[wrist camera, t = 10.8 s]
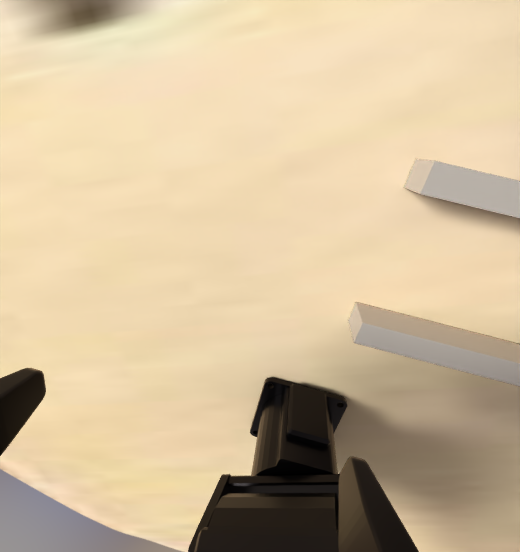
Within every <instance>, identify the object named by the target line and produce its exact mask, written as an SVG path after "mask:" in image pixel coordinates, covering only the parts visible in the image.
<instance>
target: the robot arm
mask: <svg viewBox="0 0 520 552" xmlns="http://www.w3.org/2000/svg"><path fill="white" fill-rule="evenodd" d="M270 384H273V385H270ZM45 393H46V387H45V380H44V374H43V372H42V371H40V370H36V369H33V368H25V369H22V370H19V371H17V372H15V373H12V374H10V375H7V376H5V377H2V378H0V456H1V454H2V453H3V452H4V451H5V450H6V448H7V447H8V446H9V444H10V443H11V442H12V440H13V439H14V438H15V436H16V435H17V434H18V432H19V431H20V430H21V428H22V427H23V426H24V424H25V423H26V422H27V420H28V419H29V417H30V416H31V415H32V413H33V412H34V411H35V409H36V408H37V407H38V405H39V404H40V403H41V401H42V400H43V398H44V396H45ZM346 407H347V401H346V399H345V398H344V397H342V396H339V395H335V394H331V393H327V392H324V391H320V390H316V389H313V388H309V387H305V386H301V385H298V384H294V383H290V382H287V381H283V380H279V379H275V378H267V379H266V380H265V382H264V386H263V389H262V392H261V396H260V399H259V402H258V406H257V409H256V412H255V416H254V419H253V422H252V426H251V430H250V433H251V434H252V435H253V436H255V437H257V443H256V449H255V455H254V462H253V468H252V474H251V476H231V475H230V474H226V475H222V476H221V478H220V480H219V482H218V484H217V486H216V489H215V491H214V493H213V495H212V497H211V499H210V502H209V504H208V506H207V508H206V510H205V512H204V515H203V517H202V519H201V521H200V523H199V525H198V528H197V530H196V532H195V535H194V537H193V539H192V541H191V544H190V546H189V550H188V552H419V551H418V549H417V548H416V546H415V544H414V542H413V541H412V539H411V537H410V536H409V534H408V532H407V530H406V529H405V527H404V525H403V524H402V522H401V520H400V518H399V517H398V515H397V513H396V512H395V510H394V508H393V506H392V505H391V503H390V501H389V500H388V498H387V496H386V494H385V493H384V491H383V489H382V487H381V486H380V484H379V482H378V481H377V479H376V477H375V475H374V474H373V472H372V470H371V469H370V467H369V465H368V464H367V462H366V461H365V460H363V459H360V458H357V457H353V456H351V457H349V458H348V460H347V462H346V464H345V465H344V467H343V469H342V471H341V473H340V474H338V473H337V463H336V453H335V444H334V432H335V430H336V428H337V426H338V424H339V421H340V419H341V417H342V415H343V413H344V411H345V409H346Z"/></svg>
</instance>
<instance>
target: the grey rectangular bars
mask: <svg viewBox="0 0 520 552" xmlns="http://www.w3.org/2000/svg"><path fill="white" fill-rule="evenodd" d="M404 188H407V189H409V190H411V191H414V192H416V193H419V194H422V195H426V196H430V197H434V198H438V199H442V200H447V201H451V202H455V203H459V204H463V205H467V206H471V207H475V208H480V209H484V210H488V211H492V212H496V213H500V214H504V215H508V216H513V217H517V218H520V181H518V180H513V179H509V178H505V177H501V176H497V175H492V174H488V173H484V172H480V171H476V170H471V169H467V168H463V167H459V166H455V165H450V164H446V163H442V162H438V161H432V160H423V159H415V161H414V164H413V166H412V168H411V171H410V173H409V176H408V178H407V180H406V183H405V185H404ZM348 322H349V326H350V330H351V334H352V338H353V342H354V343H356V344H360V345H364V346H368V347H371V348H375V349H379V350H383V351H387V352H391V353H394V354H398V355H402V356H406V357H410V358H413V359H417V360H421V361H425V362H429V363H432V364H436V365H440V366H444V367H448V368H452V369H455V370H459V371H463V372H467V373H471V374H474V375H478V376H482V377H486V378H490V379H494V380H497V381H501V382H505V383H509V384H513V385H516V386H520V344H517V343H514V342H510V341H506V340H502V339H498V338H494V337H490V336H486V335H482V334H479V333H475V332H471V331H467V330H463V329H459V328H455V327H451V326H447V325H444V324H440V323H436V322H432V321H428V320H424V319H420V318H416V317H412V316H409V315H405V314H401V313H397V312H393V311H389V310H385V309H381V308H377V307H374V306H370V305H366V304H362V303H358V302H355V305H354V307H353V310H352V312H351V314H350V317H349V319H348Z"/></svg>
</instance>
